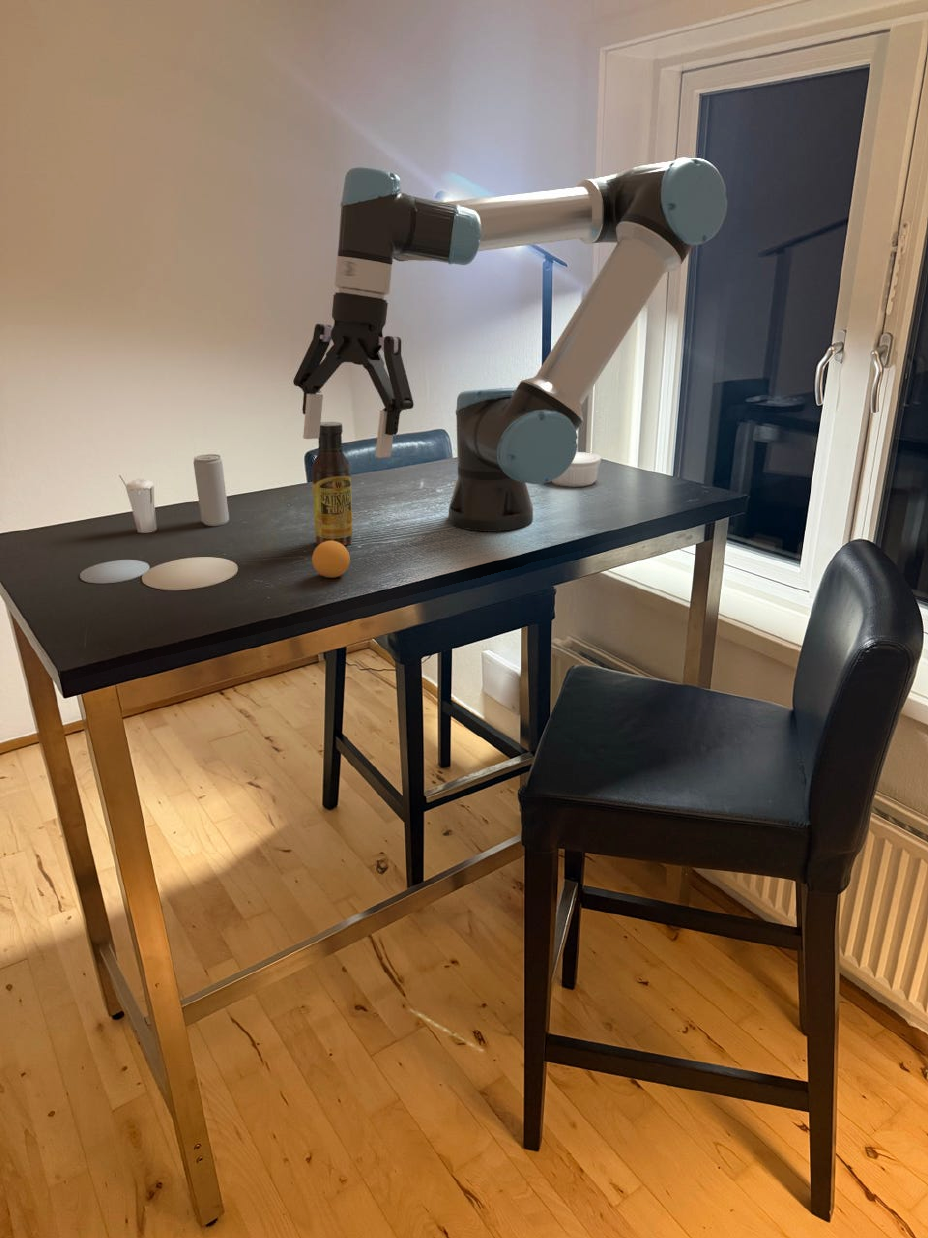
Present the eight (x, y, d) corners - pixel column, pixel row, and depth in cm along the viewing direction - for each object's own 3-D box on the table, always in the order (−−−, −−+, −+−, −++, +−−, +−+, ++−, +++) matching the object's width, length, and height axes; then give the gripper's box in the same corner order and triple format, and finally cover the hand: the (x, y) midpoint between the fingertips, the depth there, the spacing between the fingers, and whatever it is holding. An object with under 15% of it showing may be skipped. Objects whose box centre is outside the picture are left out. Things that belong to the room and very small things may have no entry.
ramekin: (541, 476, 183) (541, 452, 181) (592, 474, 184) (593, 450, 182) (551, 489, 173) (552, 464, 171) (605, 487, 174) (607, 461, 172)
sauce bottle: (323, 551, 139) (312, 428, 131) (310, 541, 144) (300, 422, 136) (360, 545, 141) (353, 424, 134) (347, 535, 146) (339, 418, 139)
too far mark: (162, 563, 134) (162, 562, 134) (123, 586, 125) (122, 584, 125) (108, 559, 137) (107, 557, 137) (65, 580, 128) (65, 579, 128)
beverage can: (222, 527, 152) (213, 460, 147) (197, 526, 153) (187, 459, 148) (234, 519, 156) (226, 454, 151) (209, 518, 157) (201, 453, 152)
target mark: (254, 562, 134) (254, 560, 134) (206, 593, 122) (206, 592, 122) (176, 555, 138) (176, 554, 138) (122, 585, 125) (122, 584, 125)
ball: (356, 571, 130) (354, 537, 127) (342, 584, 125) (339, 548, 123) (323, 569, 131) (320, 534, 129) (307, 581, 126) (304, 545, 124)
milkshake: (132, 527, 153) (123, 472, 149) (163, 526, 153) (154, 471, 149) (125, 534, 148) (115, 478, 144) (157, 533, 149) (147, 477, 145)
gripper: (275, 280, 121) (265, 431, 128) (419, 302, 109) (399, 466, 116) (311, 286, 127) (300, 430, 134) (450, 307, 115) (430, 463, 122)
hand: (346, 447), depth 125 cm, fingers open, 13 cm apart
